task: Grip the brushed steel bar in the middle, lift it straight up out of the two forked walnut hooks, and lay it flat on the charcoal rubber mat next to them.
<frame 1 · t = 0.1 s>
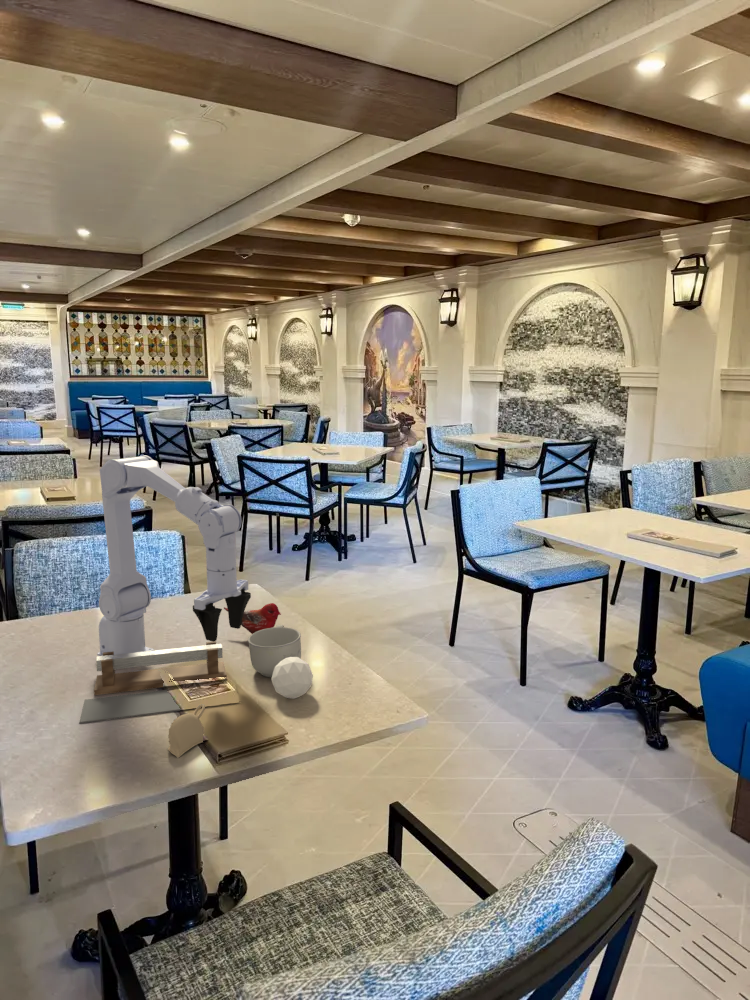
hand: (223, 633, 138), 10 cm above the table, tool pointing down, fingers open, 7 cm apart
mat: (162, 702, 130), on the table
teacup: (277, 669, 146), on the table
steel bar: (161, 662, 139), point 4 cm above the table, touching hook stands
decorative ornament: (189, 745, 116), on the table
decorative bird figurine: (252, 640, 162), on the table
geometric ball: (292, 696, 133), on the table
hook stands: (162, 679, 140), on the table
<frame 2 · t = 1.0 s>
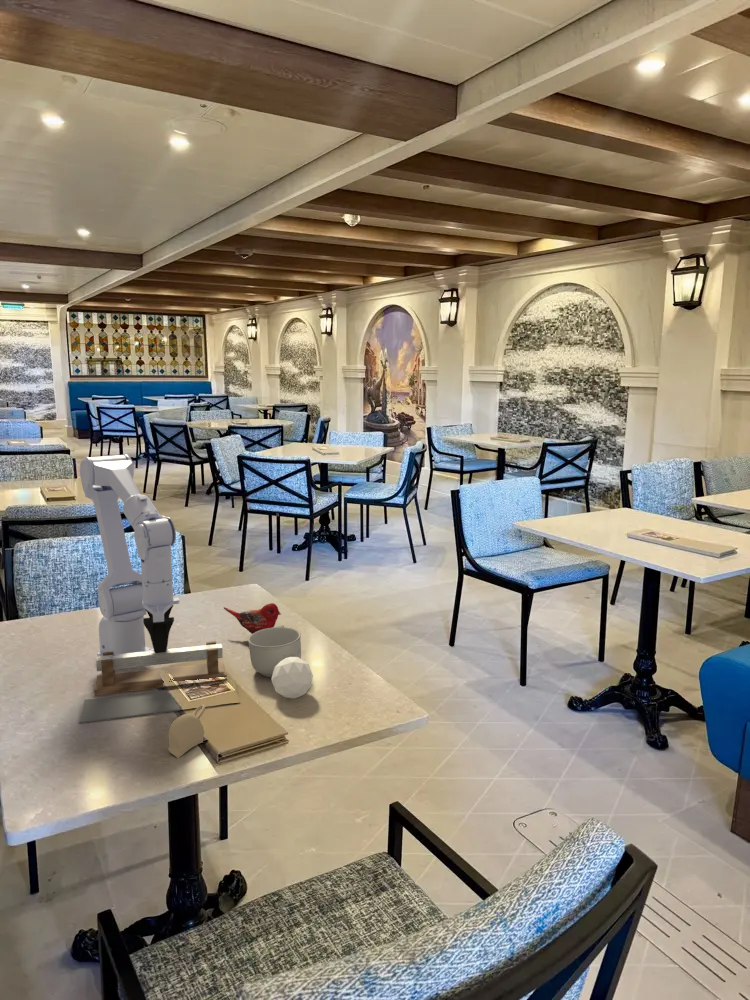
hand: (160, 644, 138), 8 cm above the table, tool pointing down, fingers open, 7 cm apart
nothing on the table moved.
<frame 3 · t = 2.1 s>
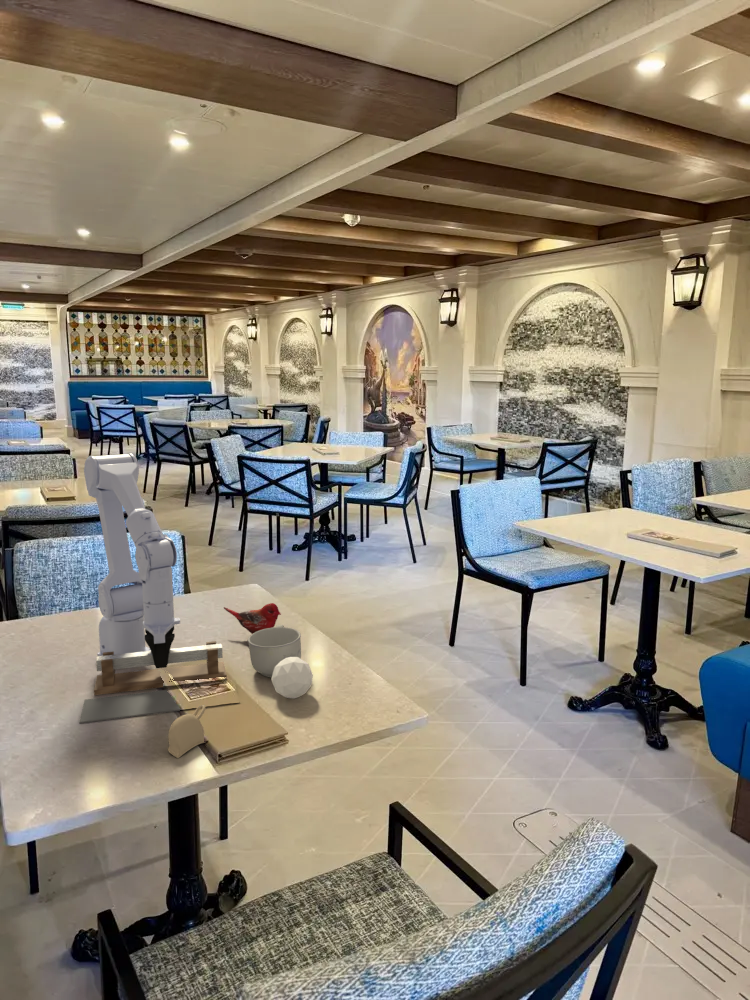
hand: (161, 664, 139), 3 cm above the table, tool pointing down, fingers closed on steel bar, 2 cm apart
steel bar: (161, 662, 139), point 4 cm above the table, touching gripper, hook stands
everything else where it was.
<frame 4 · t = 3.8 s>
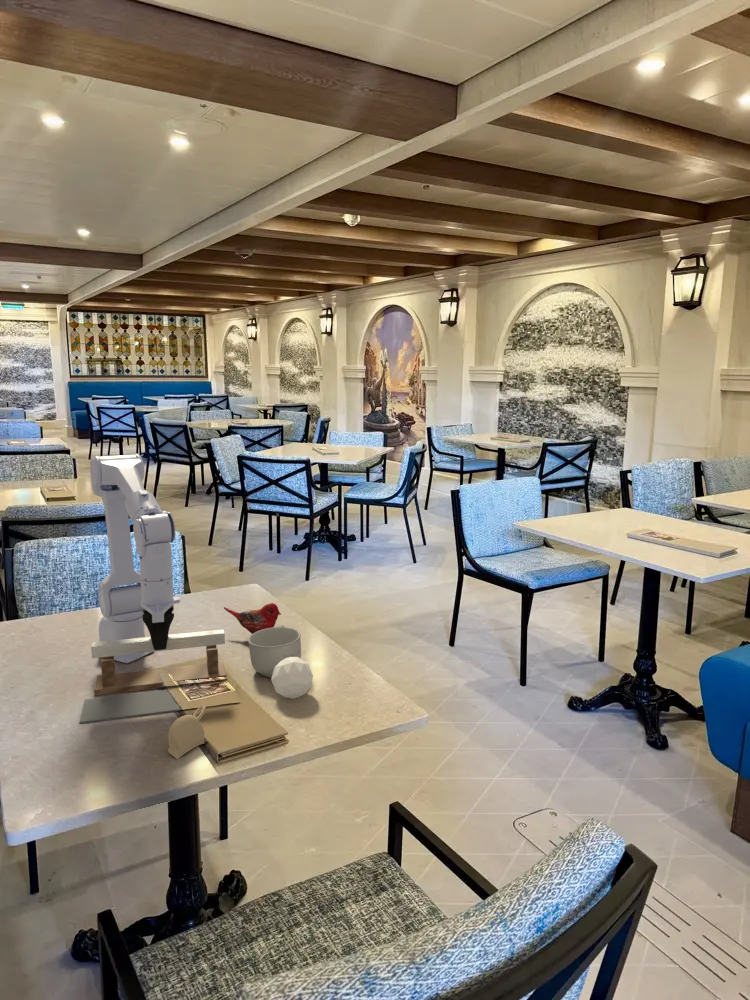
hand: (160, 646, 131), 10 cm above the table, tool pointing down, fingers closed on steel bar, 2 cm apart
steel bar: (160, 648, 132), point 9 cm above the table, touching gripper
everything else where it was.
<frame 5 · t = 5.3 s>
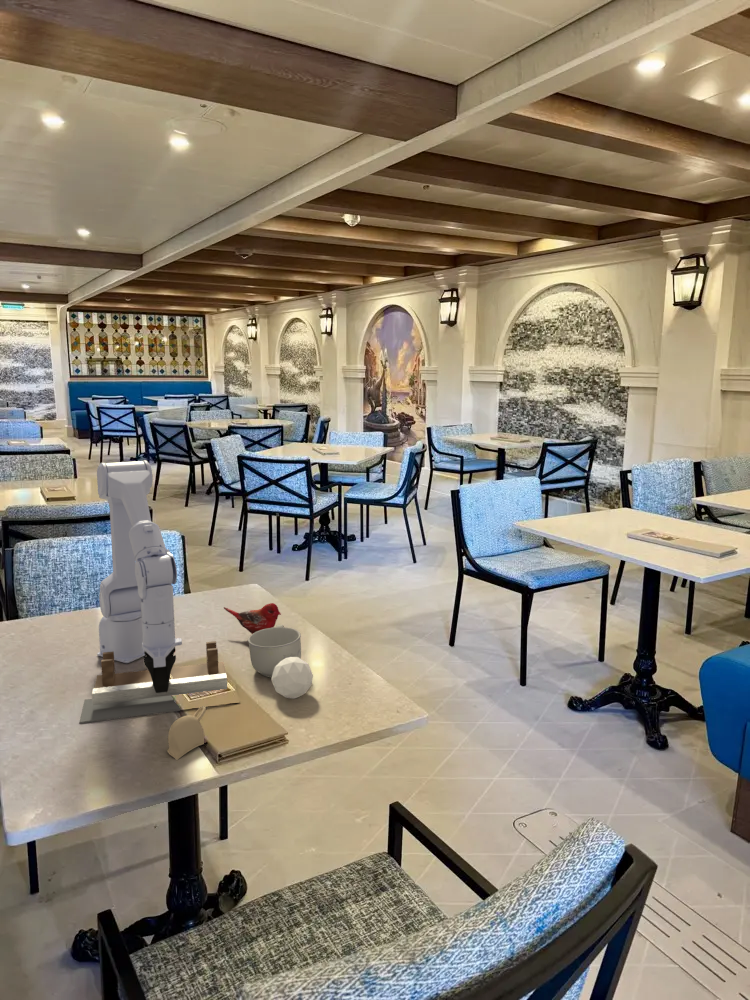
hand: (161, 688, 130), 3 cm above the table, tool pointing down, fingers closed on steel bar, 2 cm apart
steel bar: (161, 694, 130), point 2 cm above the table, touching gripper
everything else where it was.
when the fingers open (2 cm above the table, at t = 5.8 s): steel bar stays where it is, resting on mat.
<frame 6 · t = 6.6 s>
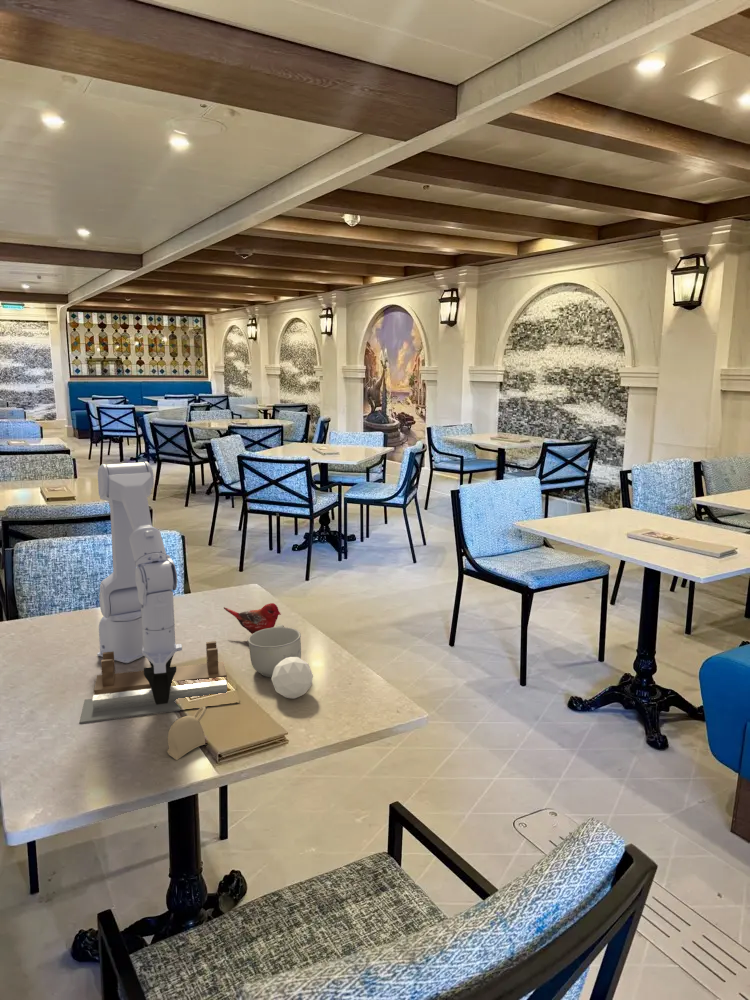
hand: (161, 694, 130), 2 cm above the table, tool pointing down, fingers open, 7 cm apart
steel bar: (162, 700, 130), resting on mat
everything else where it was.
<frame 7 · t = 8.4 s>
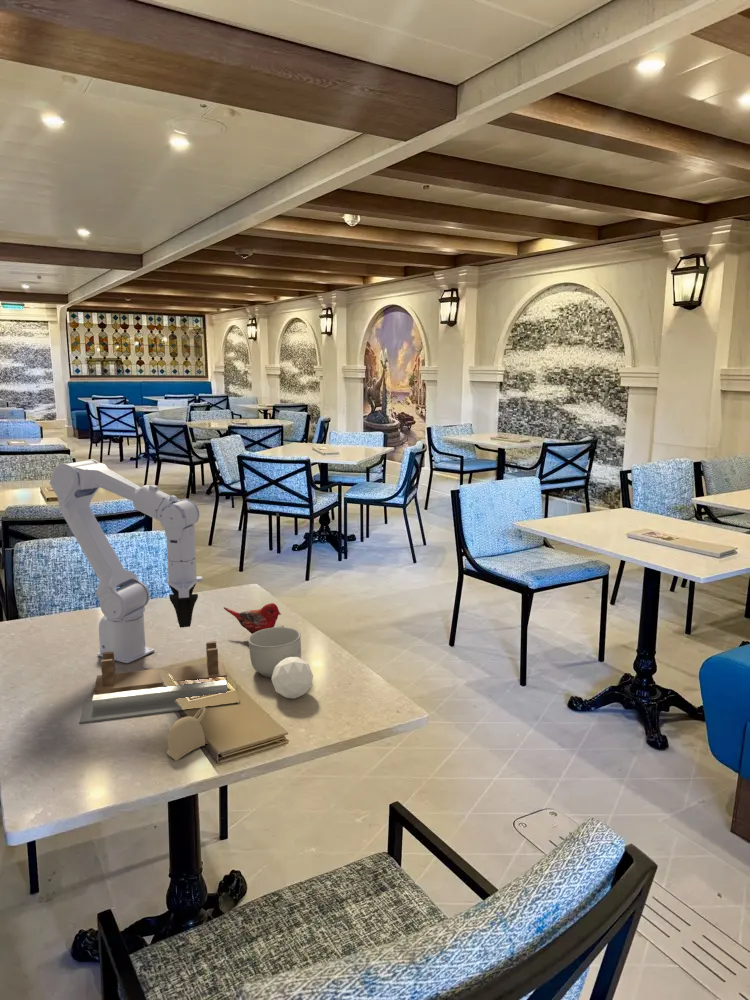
hand: (184, 620, 147), 9 cm above the table, tool pointing down, fingers open, 7 cm apart
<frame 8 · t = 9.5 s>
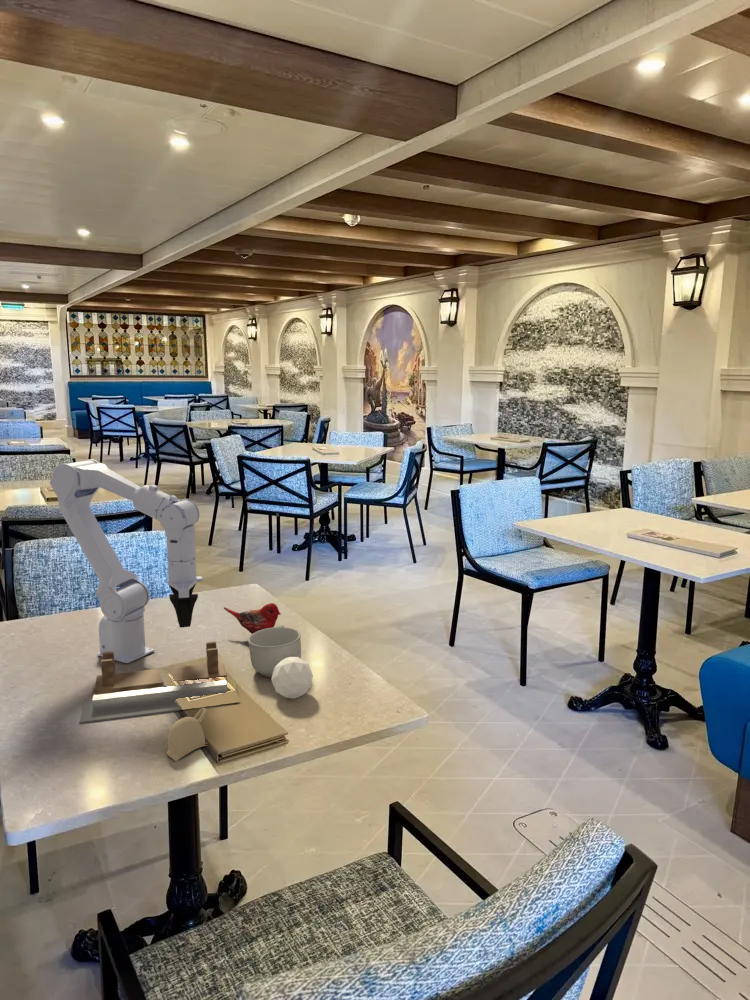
hand: (184, 620, 147), 9 cm above the table, tool pointing down, fingers open, 7 cm apart
at the end: steel bar inside the target area on the mat (0.0 cm from its centre), point 0.3 cm above the mat's base; steel bar touching mat; steel bar tilted 0° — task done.
